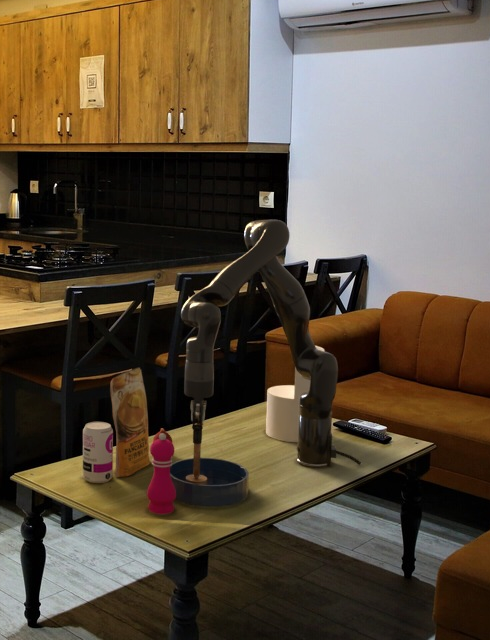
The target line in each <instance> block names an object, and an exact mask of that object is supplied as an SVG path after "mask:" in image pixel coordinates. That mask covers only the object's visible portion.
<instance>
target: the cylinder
mask: <svg viewBox="0 0 490 640" xmlns="http://www.w3.org/2000/svg"><path fill="white" fill-rule="evenodd" d="M315 347H316V348H317V349H318V350H321V351H324V352H326V350H325V348H323V347H321V346H318V345H315ZM309 389H310V380H307V379H305V378H303V377H302V376H300V375H299V373H298V372H297V370H296V367H295V366H294V384H293V385H292V384H286V385H285V384H284V385H282V384H281V385H274V386H271V387H269V388H267V390H266V417H265V418H266V419H265V434H266V435H267V436H268V437H270V438H271V439H275V440H278V441H280V442H281V441H282V442H287V443H298V432H299V407H300V396H301V394H302V393H304V392H309Z"/></svg>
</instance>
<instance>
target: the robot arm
mask: <svg viewBox="0 0 490 640" xmlns="http://www.w3.org/2000/svg"><path fill="white" fill-rule="evenodd" d="M290 237H291V236H290V229H289V227H288V225H287V224H286V223H285V222H284V221H282V220H280V219H279V220H278V219H259V220H258V219H257V220H252V221H250V222H248V223H247V224H246V226H245V229H244V234H243V239H244V243H245V246H246V248H247V252H246V253H244V254H243V255H242V256H240V257H238V258H237V259H235V260H234V261H232V262H231V263H229V264H227V265H226V266H225V267H223V269H222V270H220V271H219V272H218V273H217V275H216V276H215V277H213V279H212V280H211V282H210V283H209V284H208V285H206V286H205V287H204V288H201V289H200V290H199V291H197V292H196V293H195V294H193V295H192V296H190V297H189V298H188V299H187V300H186V301H185V303H184V304H183V305H182V308H181V311H180V318H181V321H182V322H183V324H185V325H186V326H188V327H192V328H196V329H198V333H197V335H195V336H191V337H189V338H188V339H187V341H186V347H185V348H186V349H185V351H186V352H185V364H184V383H183V384H184V385H183V386H184V387H183V388H184V389H183V390H184V391H183V393H184V395H185V396H186V397H188V398H193V400H191V401H190V412H191V413H190V421H191V422H192V425H191V429H192V443H193V445H194V444H201V445H202V441H203V429H204V428H203V427H204V421H205V417H206V410H207V400H204V399H207V398H211V397H212V396H214V386H215V385H214V382H215V364H214V353H215V352H214V349H215V348H214V347H215V343H216V339H217V335H218V333H219V328H220V327H221V326H220V325H221V321H222V314H221V310H220V308H219V307H225V306H226V305H228V304H229V303H230V302H231V301H232V300H233V299H234V298H235V296H236V295H237V294H238V293H239V291H240V290H241V289H242V288H243V287H244V286H245V285H246V284H247V283H248V282H249V280H250V279H252V278H253V277H254V276H255V275H256V274H257V273H258V272H259V273H260V276H261V279H262V280H263V283H264V285H265V288H266V289H267V292H268V294H269V297H270V300H271V303H272V305H273V307H274V310H275V313H276V315H277V317H278V319H279V322H280V324H281V327H282V330H283V332H284V335H285V338H286V341H287V342H288V346H289V349H290V352H291V356H292V360H293V364H294V368H295V367H296V370H297V372H298V373H299V375H300V376H302V377H303V378H305V379H307V380H310V389H309V392H304V393H302V394H301V396H300V407H299V432H298V442H297V448H296V449H297V450H296V451H297V453H296V454H297V457H296V462H297V463H298V464H299V465H301V466H304V467H309V468H326V467H331V466H332V459H337V455H339V456H342V457H345V458H346V459H349V460H350V461H352V462H354V463H355V464H357V465H358V466H361V464H362V461H361V460H359V459H357V458H356V457H354V456H352V455H351V454H348V453H346V452H343V451H340V450H337V448H336V445H335V444H333V433H332V425H333V423H332V422H333V402H334V400H335V398H336V394H337V388H338V387H337V385H338V377H339V376H338V375H339V365H338V360H337V358H336V357H335V356H334V354H332V353H330V352H328V351H325V352H324V351H321V350H318V349H317V348H316V347H315V346H316V345H315V343H314V341H313V339H312V336H311V333H310V328H309V325H310V318H311V307H310V304H309V301H308V298H307V295H306V293H305V290H304V289H303V287H302V285H301V283H300V282H299V281H298V280H297V279H296V277H294V276H293V275H292V274H291V273H290V272H289V271H288V270H287V269H286V268H285V267H284V265H283V264H282V263H281V261H280V260H279V258H278V255H280V254H281V253H282V252H283V251H284V250H285V249H286V247H288V245H289V241H290ZM195 424H200V425H195Z"/></svg>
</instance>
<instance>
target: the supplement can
mask: <svg viewBox="0 0 490 640" xmlns="http://www.w3.org/2000/svg"><path fill="white" fill-rule="evenodd" d="M113 463H114V430H113V428H112V425H111V424H110V423H108V422H104V421H91V422H88V423H86V424H85V426H84V428H83V429H82V478H83V479H84V480H85V481H86V482H88V483H92V484H103V483H108V482H110V480H111V479H112V478H113V472H114V471H113V470H114V469H113V468H114V466H113Z"/></svg>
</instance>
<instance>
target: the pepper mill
mask: <svg viewBox="0 0 490 640" xmlns="http://www.w3.org/2000/svg"><path fill="white" fill-rule="evenodd" d="M172 442H173V441H172ZM172 442H171V441H169V440H167V439H166V435H165V434H164V433H161V434H160V435H159V439H157V440H155V441H154V442H153V441H152V443H151V445H150V446H149V453H150V455H151V456H152V458H151V465H152V466H153V474H152V478H151V480H150V483H149V485H148V486H147V490H146V497H147V499H148V501H149V503H148V511H149V512H151V513H153V514H157V515H168V514H171V513H174V510H175V504H174V501H175V500H176V499H175V498H176V490H175V487H174V485H173V482H172V480H171V477H170V466H171V465H172V463H173V459H172V457H173V456H174V454H175V445H174V443H172Z"/></svg>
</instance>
